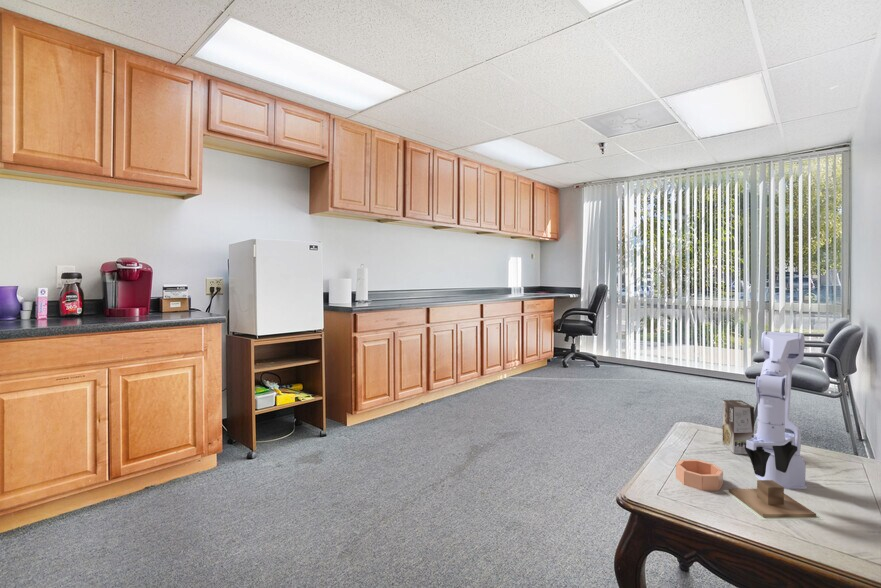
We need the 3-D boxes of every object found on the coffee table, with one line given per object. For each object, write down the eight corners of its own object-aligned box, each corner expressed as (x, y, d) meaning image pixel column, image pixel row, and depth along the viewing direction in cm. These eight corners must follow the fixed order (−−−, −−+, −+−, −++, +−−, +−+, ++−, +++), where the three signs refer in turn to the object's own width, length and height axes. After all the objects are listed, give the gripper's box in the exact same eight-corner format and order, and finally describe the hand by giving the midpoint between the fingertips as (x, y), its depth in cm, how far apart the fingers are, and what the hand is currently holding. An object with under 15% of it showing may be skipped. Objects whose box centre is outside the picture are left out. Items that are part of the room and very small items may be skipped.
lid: (776, 491, 121) (776, 472, 121) (816, 517, 108) (816, 495, 108) (728, 491, 121) (729, 472, 121) (762, 517, 108) (763, 496, 108)
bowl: (706, 473, 133) (706, 459, 133) (730, 491, 122) (730, 475, 122) (670, 474, 133) (670, 459, 133) (690, 492, 122) (690, 476, 122)
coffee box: (754, 455, 146) (755, 407, 146) (733, 454, 147) (733, 406, 147) (741, 444, 155) (742, 399, 154) (721, 443, 156) (722, 399, 156)
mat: (777, 491, 122) (777, 489, 122) (823, 521, 107) (823, 519, 107) (723, 491, 122) (723, 490, 122) (761, 521, 107) (761, 519, 107)
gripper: (775, 414, 120) (775, 463, 120) (735, 419, 115) (734, 470, 116) (803, 422, 113) (803, 474, 113) (761, 428, 109) (761, 482, 109)
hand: (770, 473), depth 114 cm, fingers open, 7 cm apart
